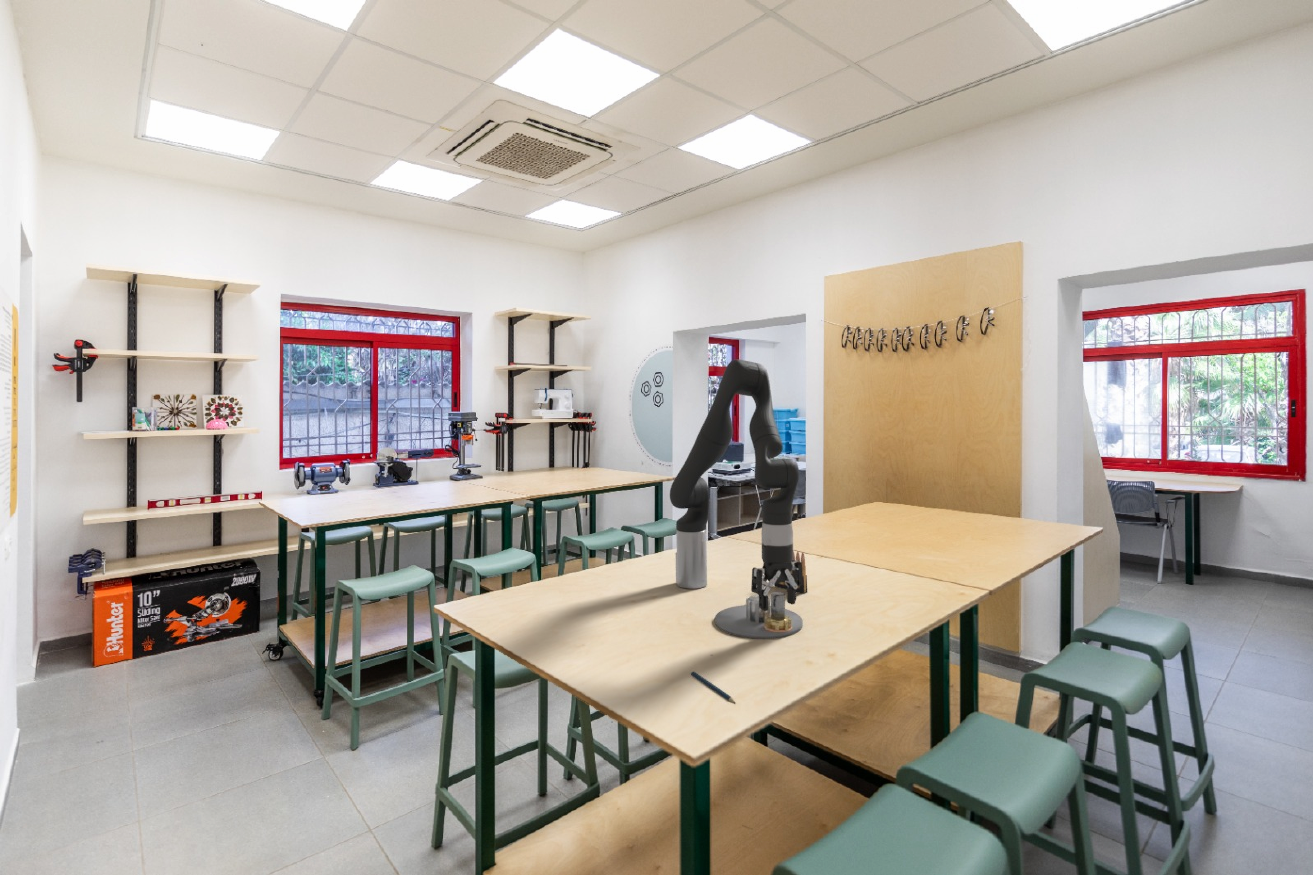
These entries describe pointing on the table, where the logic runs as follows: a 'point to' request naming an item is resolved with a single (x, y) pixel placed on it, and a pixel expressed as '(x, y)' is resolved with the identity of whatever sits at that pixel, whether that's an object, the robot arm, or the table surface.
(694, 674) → the pencil
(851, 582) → the table surface
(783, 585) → the ammunition clip
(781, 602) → the planet gear
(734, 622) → the carrier plate
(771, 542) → the robot arm
